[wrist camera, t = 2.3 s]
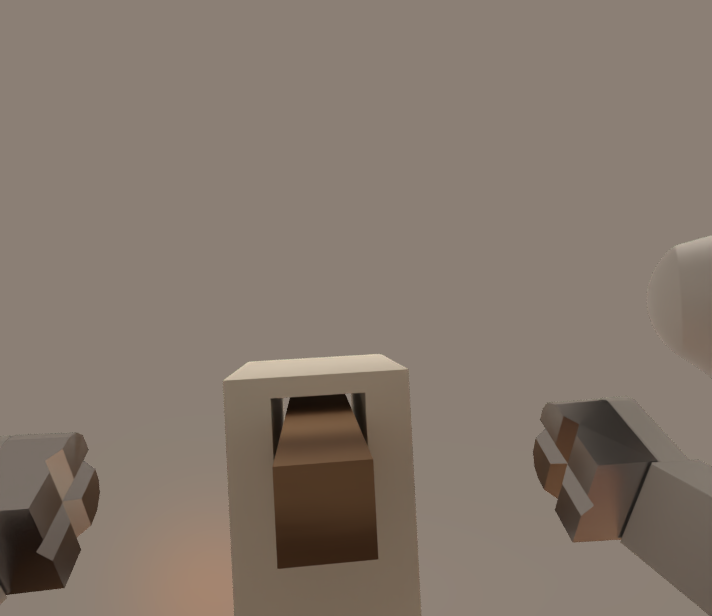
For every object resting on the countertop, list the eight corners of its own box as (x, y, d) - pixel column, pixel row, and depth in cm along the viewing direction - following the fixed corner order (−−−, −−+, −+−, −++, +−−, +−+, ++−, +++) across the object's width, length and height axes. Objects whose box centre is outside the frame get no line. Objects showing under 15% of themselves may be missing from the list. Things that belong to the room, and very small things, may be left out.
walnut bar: (378, 559, 16) (373, 459, 16) (277, 569, 16) (272, 466, 16) (342, 430, 34) (340, 383, 34) (295, 434, 34) (292, 386, 34)
